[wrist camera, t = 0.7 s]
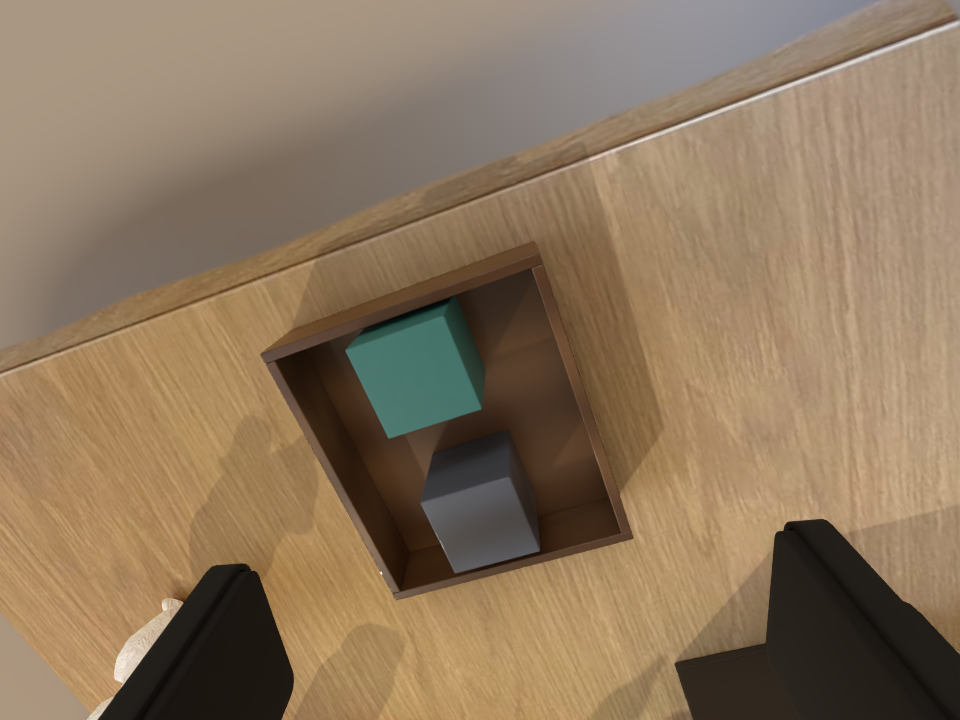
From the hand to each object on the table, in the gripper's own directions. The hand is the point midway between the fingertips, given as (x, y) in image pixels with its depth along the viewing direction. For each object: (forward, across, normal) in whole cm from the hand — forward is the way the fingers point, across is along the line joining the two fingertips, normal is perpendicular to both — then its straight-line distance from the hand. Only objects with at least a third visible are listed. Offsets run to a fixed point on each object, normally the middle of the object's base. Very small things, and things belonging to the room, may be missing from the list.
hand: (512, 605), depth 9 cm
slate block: (+17, +2, +8) cm, 19 cm away
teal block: (+17, +4, 0) cm, 17 cm away
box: (+17, +3, +5) cm, 18 cm away
